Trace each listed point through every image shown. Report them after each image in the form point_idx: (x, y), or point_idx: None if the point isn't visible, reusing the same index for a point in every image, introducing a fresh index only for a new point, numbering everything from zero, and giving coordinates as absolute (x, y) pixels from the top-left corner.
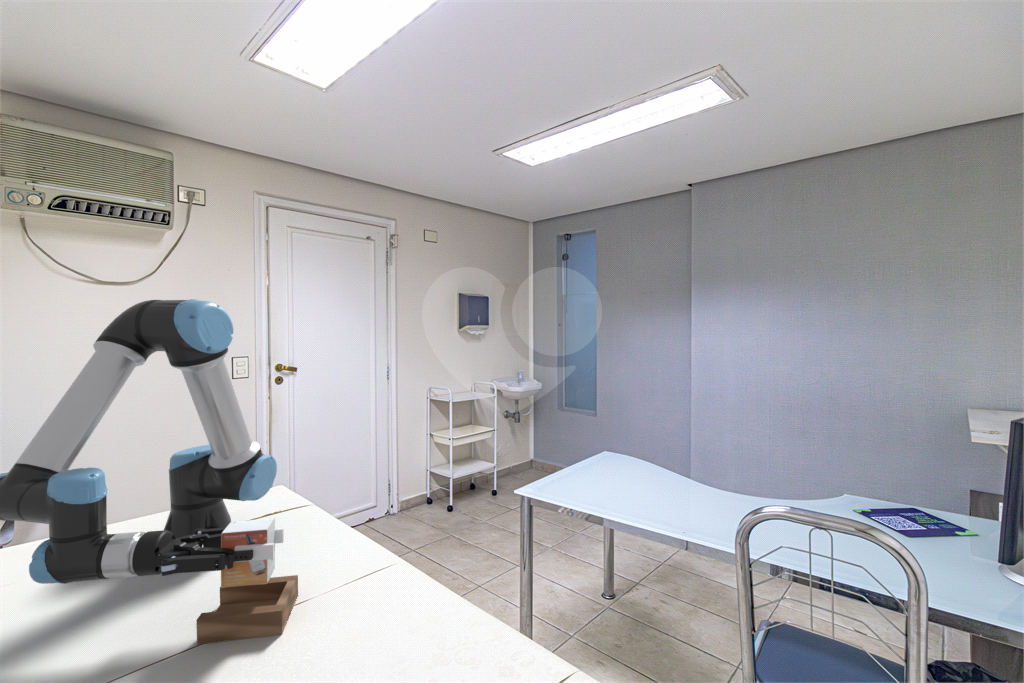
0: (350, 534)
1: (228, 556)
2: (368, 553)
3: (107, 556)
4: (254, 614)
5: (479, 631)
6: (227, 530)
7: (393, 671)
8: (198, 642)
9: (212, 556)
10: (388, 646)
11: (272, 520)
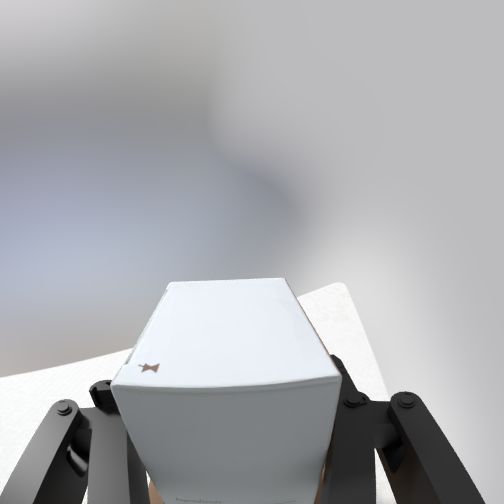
0: (9, 379)
1: (376, 403)
2: (83, 371)
3: None
4: (323, 470)
5: (301, 303)
6: (296, 362)
7: (363, 338)
8: None
9: (426, 425)
10: (328, 346)
11: (196, 281)
